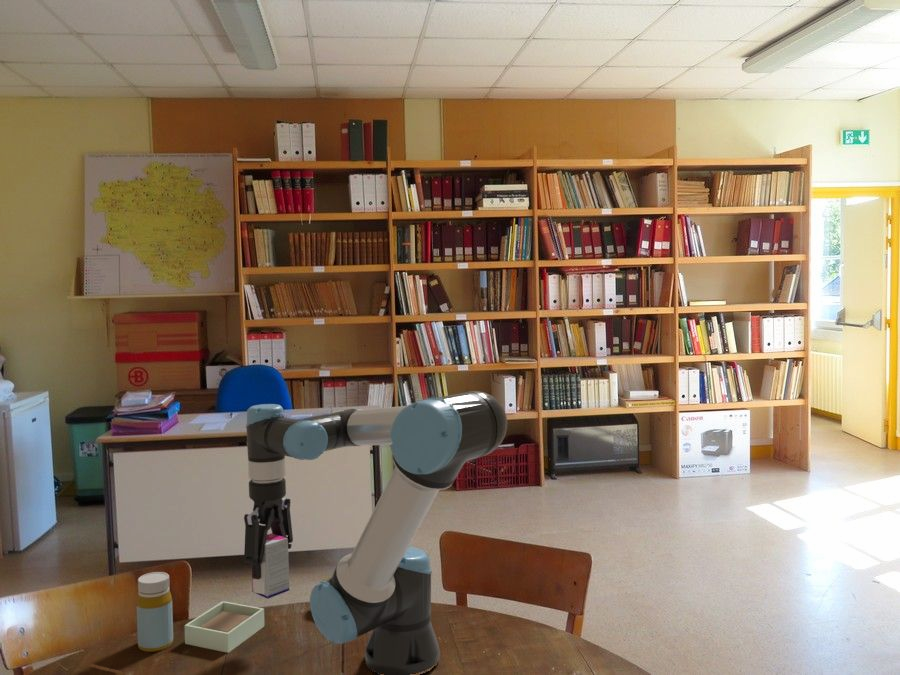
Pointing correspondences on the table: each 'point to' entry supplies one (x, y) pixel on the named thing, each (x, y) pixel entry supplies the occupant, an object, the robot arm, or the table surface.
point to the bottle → (154, 612)
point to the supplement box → (276, 566)
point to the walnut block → (225, 621)
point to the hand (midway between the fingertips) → (270, 585)
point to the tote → (223, 639)
